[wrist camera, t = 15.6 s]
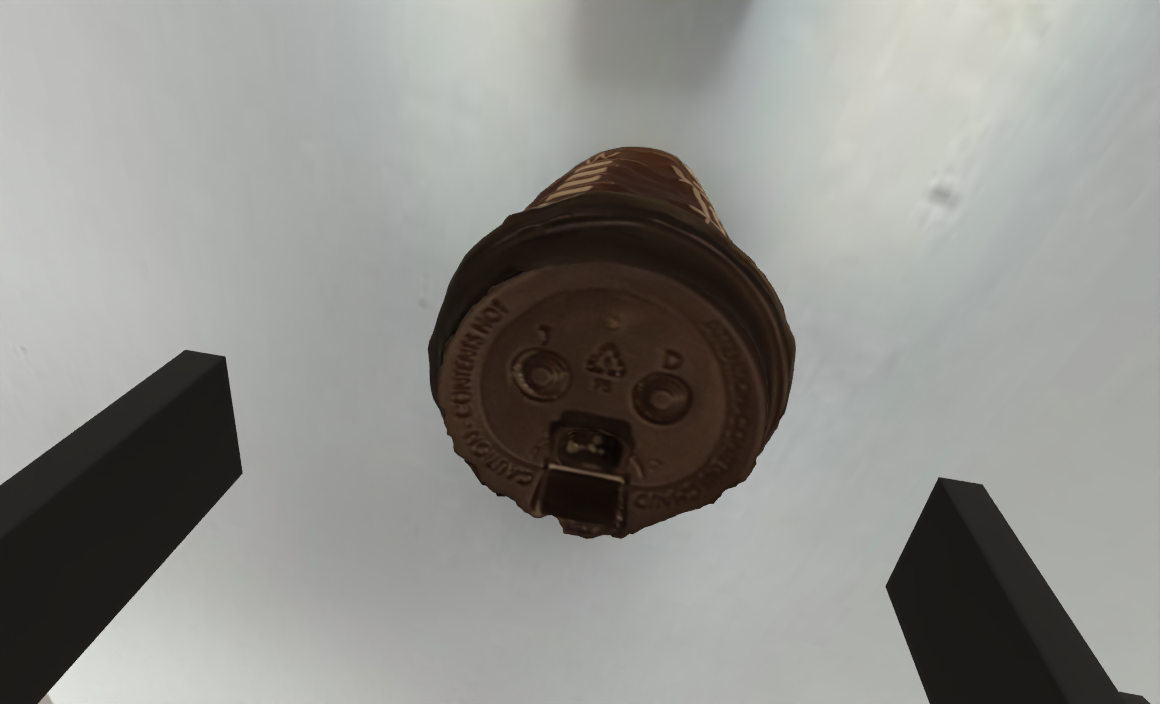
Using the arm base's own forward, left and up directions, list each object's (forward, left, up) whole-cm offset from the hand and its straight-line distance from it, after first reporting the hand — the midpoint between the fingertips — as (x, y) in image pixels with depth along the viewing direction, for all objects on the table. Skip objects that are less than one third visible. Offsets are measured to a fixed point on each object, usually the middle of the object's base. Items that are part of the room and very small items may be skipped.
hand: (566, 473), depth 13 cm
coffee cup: (0, 0, -15) cm, 15 cm away
